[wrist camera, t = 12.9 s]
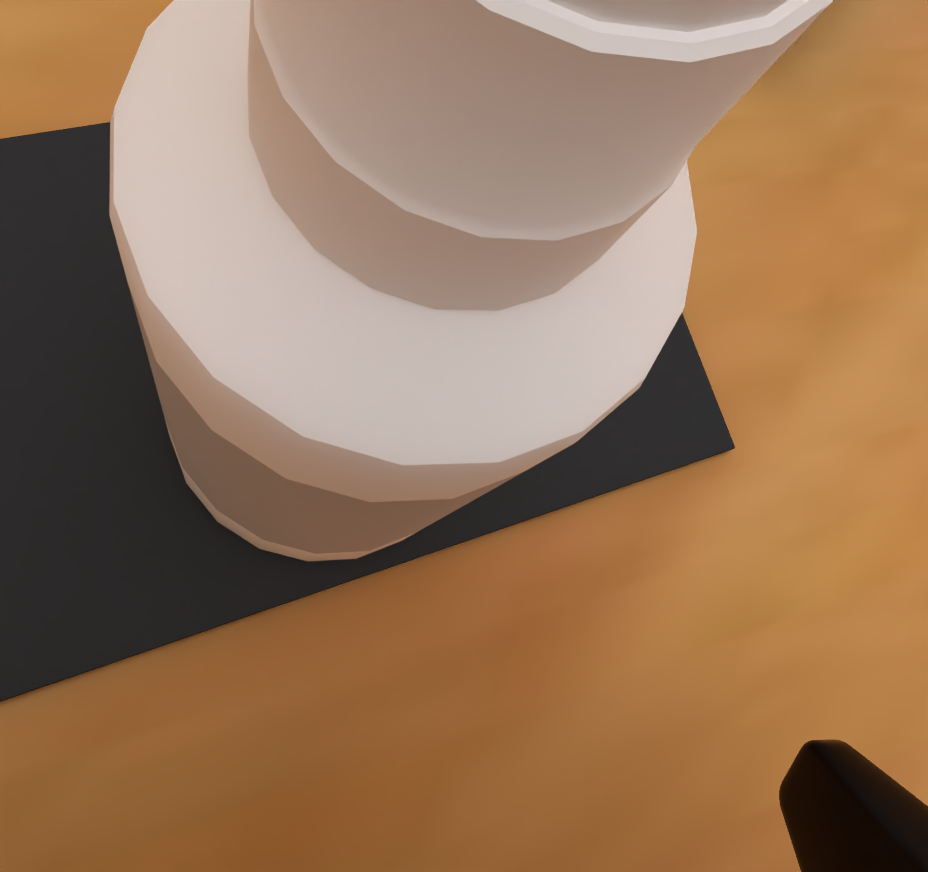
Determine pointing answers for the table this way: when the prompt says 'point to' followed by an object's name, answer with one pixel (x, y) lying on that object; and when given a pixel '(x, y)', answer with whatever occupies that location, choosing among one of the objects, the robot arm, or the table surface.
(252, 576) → the pad
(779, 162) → the table surface
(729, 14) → the spray bottle
